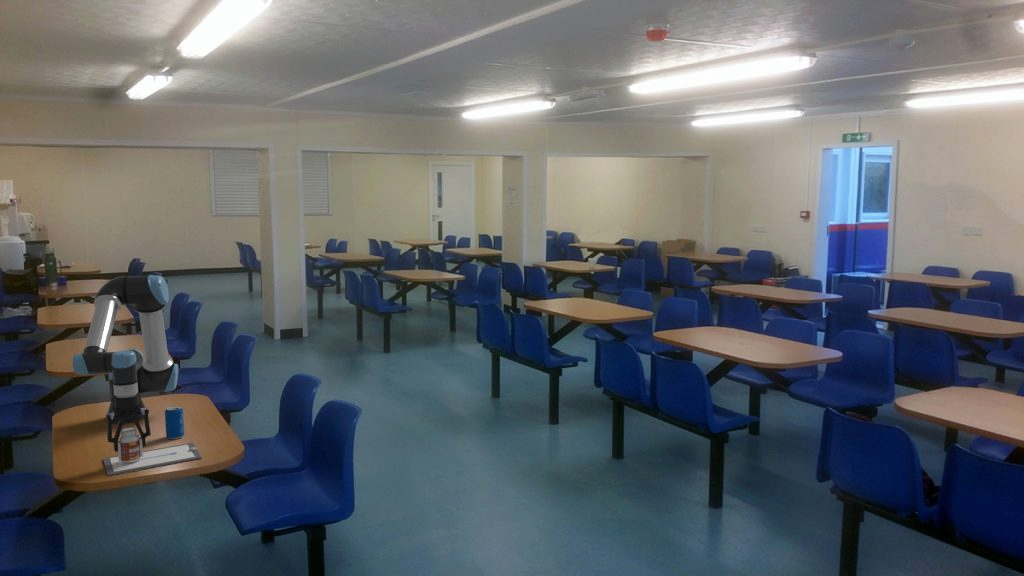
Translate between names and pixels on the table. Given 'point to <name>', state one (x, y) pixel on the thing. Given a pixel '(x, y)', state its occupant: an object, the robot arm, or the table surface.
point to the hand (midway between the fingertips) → (130, 457)
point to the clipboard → (153, 459)
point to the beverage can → (174, 422)
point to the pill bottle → (129, 446)
